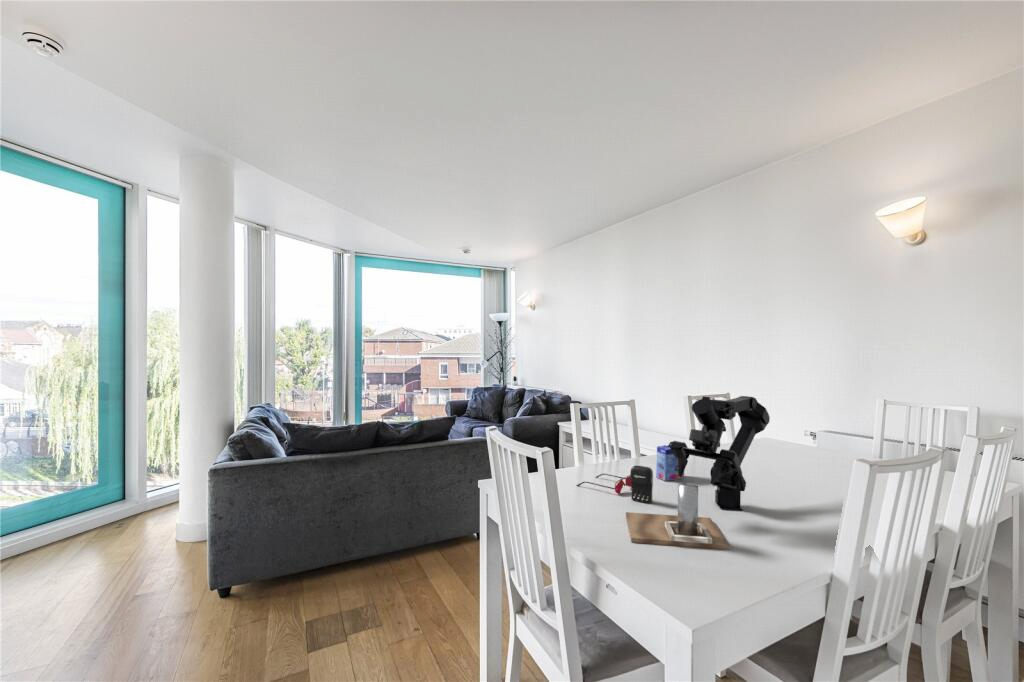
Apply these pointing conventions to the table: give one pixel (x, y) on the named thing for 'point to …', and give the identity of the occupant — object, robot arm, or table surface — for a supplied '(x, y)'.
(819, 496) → the table surface
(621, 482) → the glasses
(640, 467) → the battery charger
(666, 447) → the ink cartridge box
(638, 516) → the board
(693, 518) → the grey cylinder
